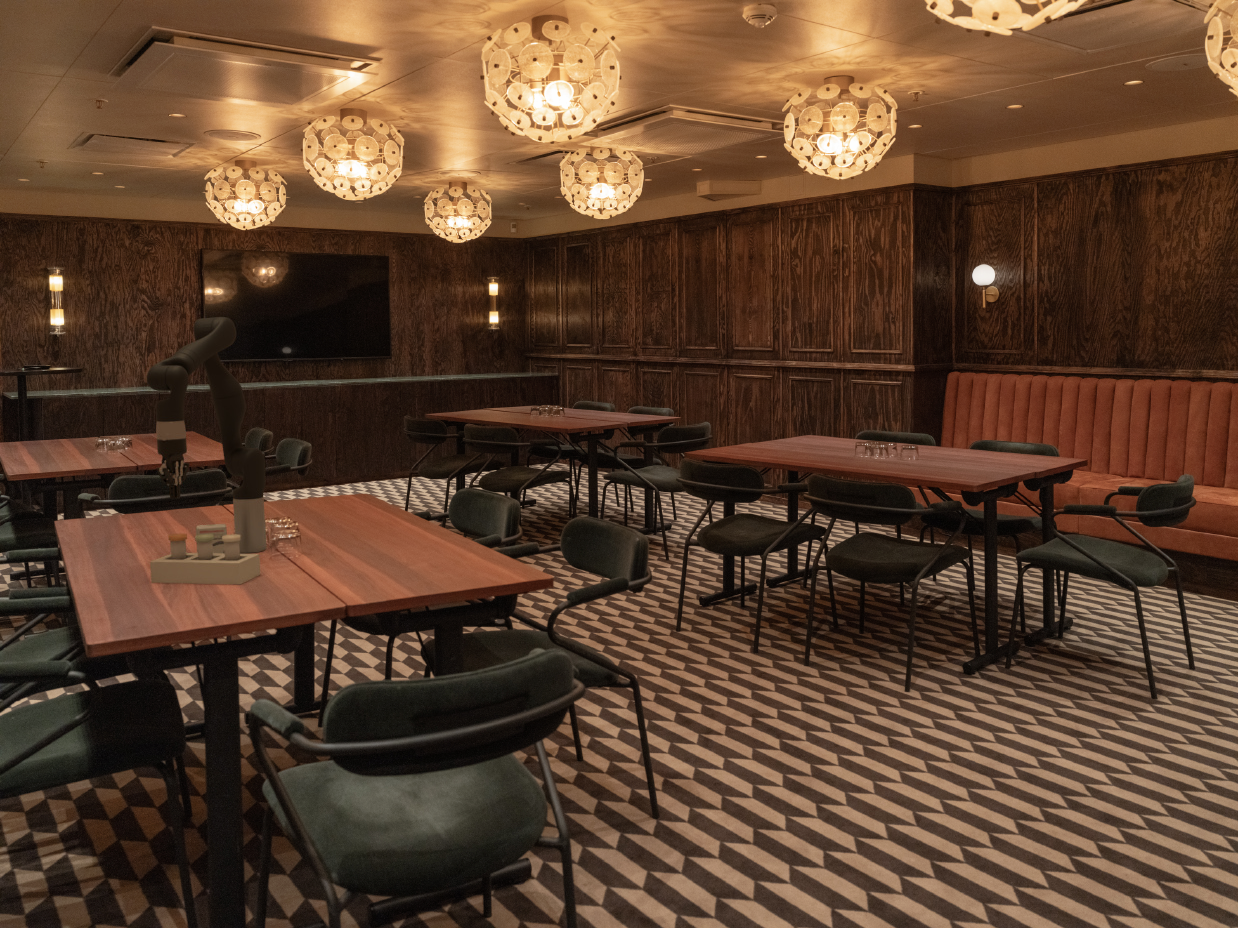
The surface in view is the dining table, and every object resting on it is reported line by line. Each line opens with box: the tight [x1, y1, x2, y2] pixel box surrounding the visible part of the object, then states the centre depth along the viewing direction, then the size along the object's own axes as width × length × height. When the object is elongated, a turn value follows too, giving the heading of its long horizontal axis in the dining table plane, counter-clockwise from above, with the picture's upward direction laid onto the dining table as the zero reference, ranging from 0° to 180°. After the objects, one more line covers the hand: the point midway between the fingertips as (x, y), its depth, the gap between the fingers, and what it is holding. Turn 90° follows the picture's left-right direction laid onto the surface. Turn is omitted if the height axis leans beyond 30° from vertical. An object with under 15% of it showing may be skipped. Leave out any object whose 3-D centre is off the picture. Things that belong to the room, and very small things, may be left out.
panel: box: [149, 552, 261, 586], centre depth 278 cm, size 12×26×6 cm, turn 84°
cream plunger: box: [222, 533, 241, 561], centre depth 277 cm, size 5×5×8 cm
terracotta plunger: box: [167, 533, 188, 560], centre depth 278 cm, size 5×5×8 cm
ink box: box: [195, 523, 228, 553], centre depth 297 cm, size 9×5×12 cm, turn 114°
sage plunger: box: [194, 534, 214, 560], centre depth 278 cm, size 5×5×8 cm
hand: (175, 498), depth 277 cm, fingers closed
